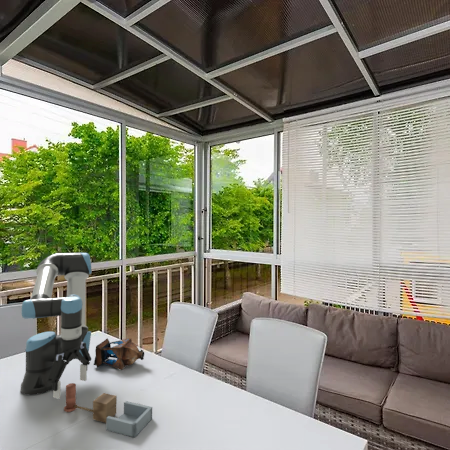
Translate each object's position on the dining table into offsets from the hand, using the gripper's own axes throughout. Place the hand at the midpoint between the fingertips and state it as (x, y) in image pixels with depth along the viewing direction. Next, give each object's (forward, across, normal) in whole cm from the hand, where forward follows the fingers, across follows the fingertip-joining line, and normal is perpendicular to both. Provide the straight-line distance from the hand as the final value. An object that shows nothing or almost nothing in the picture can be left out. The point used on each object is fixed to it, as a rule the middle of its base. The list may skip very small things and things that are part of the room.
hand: (70, 388), depth 126 cm
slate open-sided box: (+7, -1, -29) cm, 30 cm away
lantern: (+9, +39, +5) cm, 40 cm away
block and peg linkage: (+7, -1, -9) cm, 12 cm away
